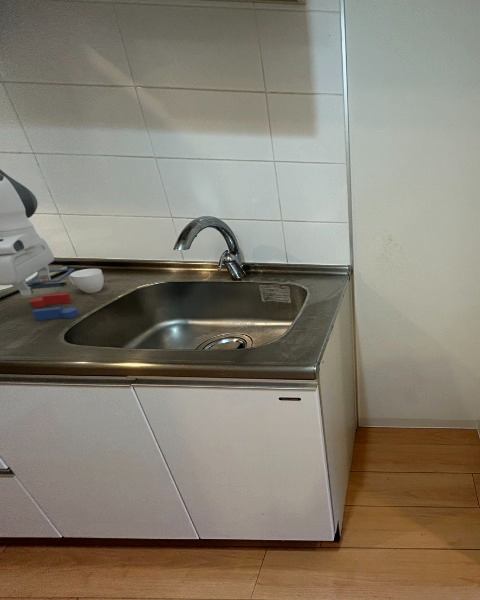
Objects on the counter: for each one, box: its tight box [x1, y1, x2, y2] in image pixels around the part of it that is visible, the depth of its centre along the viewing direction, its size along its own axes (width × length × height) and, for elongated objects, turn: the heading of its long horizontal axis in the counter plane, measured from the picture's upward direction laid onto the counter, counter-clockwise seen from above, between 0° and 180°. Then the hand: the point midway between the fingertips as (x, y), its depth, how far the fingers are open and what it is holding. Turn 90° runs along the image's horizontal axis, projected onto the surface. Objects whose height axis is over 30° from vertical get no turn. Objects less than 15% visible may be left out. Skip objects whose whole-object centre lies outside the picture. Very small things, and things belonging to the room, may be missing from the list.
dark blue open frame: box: [25, 268, 75, 290], centre depth 110 cm, size 12×8×2 cm
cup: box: [68, 268, 105, 294], centre depth 105 cm, size 8×10×7 cm
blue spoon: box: [32, 306, 80, 322], centre depth 90 cm, size 9×3×3 cm, turn 115°
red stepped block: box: [29, 292, 73, 308], centre depth 96 cm, size 9×3×3 cm, turn 115°
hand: (37, 287), depth 85 cm, fingers open, 8 cm apart
